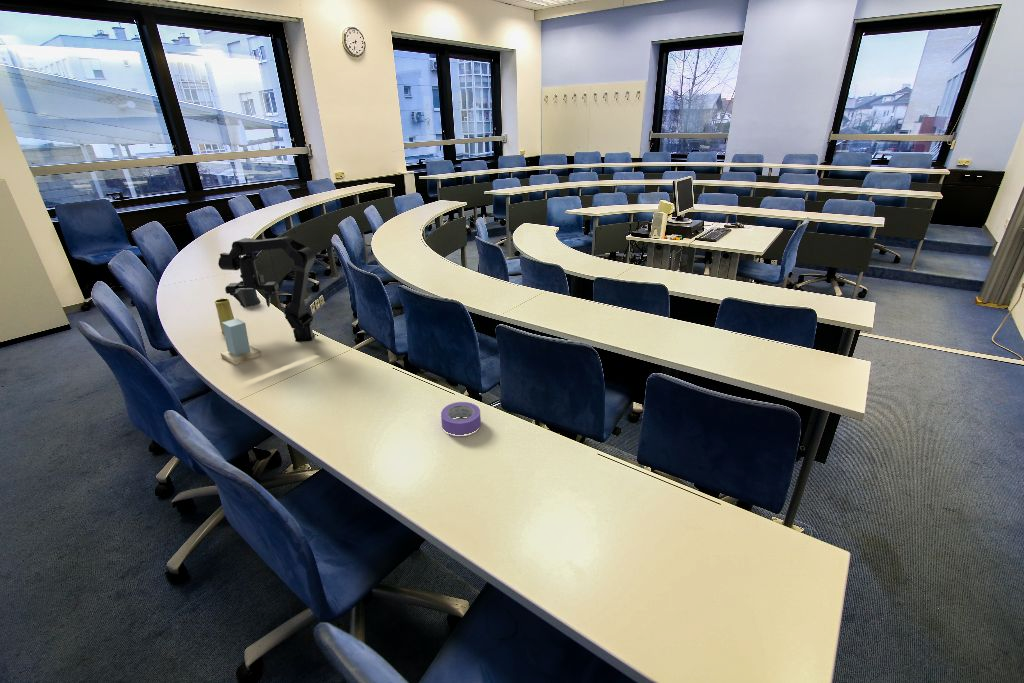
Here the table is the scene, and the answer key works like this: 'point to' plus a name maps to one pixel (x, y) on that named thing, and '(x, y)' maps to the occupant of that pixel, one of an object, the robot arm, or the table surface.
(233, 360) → the birch slab
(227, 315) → the vase
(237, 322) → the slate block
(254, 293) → the mug
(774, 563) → the table surface
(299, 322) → the robot arm
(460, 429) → the tape roll
